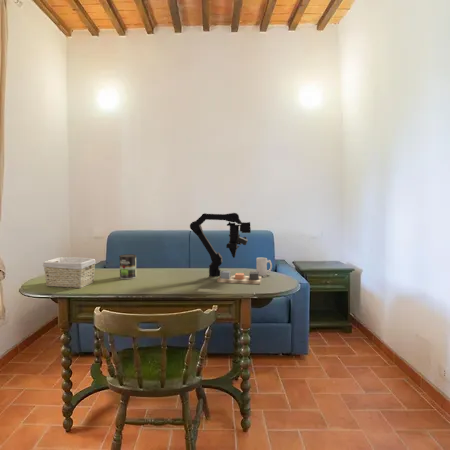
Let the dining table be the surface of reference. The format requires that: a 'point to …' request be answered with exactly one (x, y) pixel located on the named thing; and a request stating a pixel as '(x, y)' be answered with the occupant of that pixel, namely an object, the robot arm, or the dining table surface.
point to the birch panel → (239, 280)
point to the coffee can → (128, 266)
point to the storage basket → (69, 272)
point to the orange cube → (239, 276)
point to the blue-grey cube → (225, 274)
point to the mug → (263, 266)
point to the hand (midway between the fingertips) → (233, 257)
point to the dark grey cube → (254, 276)
